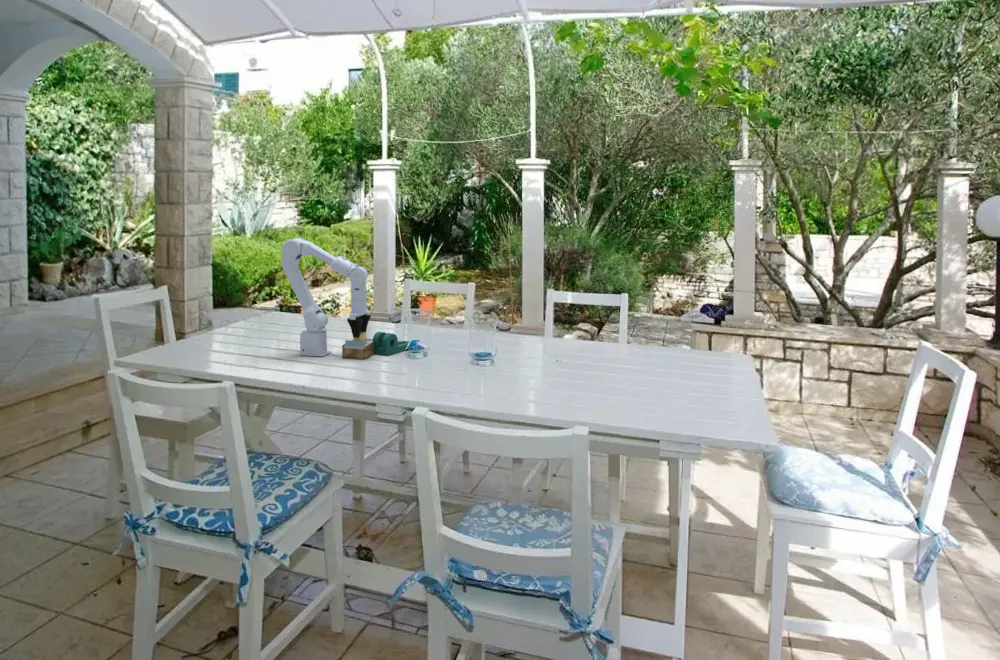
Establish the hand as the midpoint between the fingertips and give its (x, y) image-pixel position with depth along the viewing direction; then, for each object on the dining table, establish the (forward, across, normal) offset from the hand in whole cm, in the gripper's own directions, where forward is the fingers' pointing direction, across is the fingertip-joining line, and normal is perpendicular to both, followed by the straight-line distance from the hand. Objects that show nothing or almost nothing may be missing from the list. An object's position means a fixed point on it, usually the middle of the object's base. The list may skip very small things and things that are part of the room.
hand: (359, 335), depth 278 cm
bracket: (+8, +11, -10) cm, 17 cm away
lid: (+4, 0, 0) cm, 4 cm away
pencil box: (+8, +1, 0) cm, 8 cm away
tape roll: (+3, 0, 0) cm, 3 cm away
